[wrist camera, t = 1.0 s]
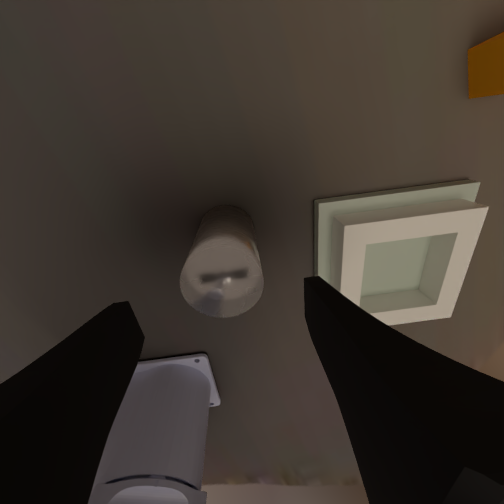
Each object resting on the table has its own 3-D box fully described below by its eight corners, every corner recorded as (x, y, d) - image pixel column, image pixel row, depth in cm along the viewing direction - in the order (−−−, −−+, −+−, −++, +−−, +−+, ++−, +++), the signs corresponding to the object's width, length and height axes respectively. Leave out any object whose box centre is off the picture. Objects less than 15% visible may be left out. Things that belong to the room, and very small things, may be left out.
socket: (314, 317, 22) (325, 342, 19) (314, 199, 17) (329, 212, 14) (432, 301, 22) (459, 324, 19) (467, 179, 17) (511, 188, 14)
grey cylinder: (206, 258, 19) (190, 322, 12) (194, 208, 17) (169, 254, 10) (257, 251, 19) (267, 312, 12) (250, 201, 17) (259, 242, 10)
